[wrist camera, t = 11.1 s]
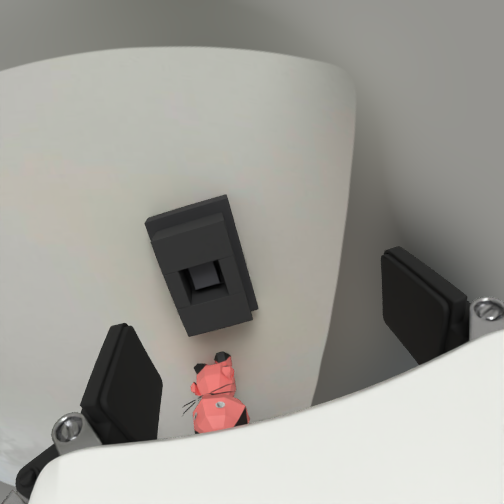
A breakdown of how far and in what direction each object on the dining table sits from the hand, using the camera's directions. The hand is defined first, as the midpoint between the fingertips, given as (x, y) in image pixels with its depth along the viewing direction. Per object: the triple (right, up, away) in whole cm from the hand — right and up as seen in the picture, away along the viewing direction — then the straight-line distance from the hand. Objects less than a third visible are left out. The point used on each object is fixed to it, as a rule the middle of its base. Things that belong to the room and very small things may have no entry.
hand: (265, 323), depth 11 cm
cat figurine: (-5, -12, +26) cm, 29 cm away
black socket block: (-5, +1, +19) cm, 20 cm away
